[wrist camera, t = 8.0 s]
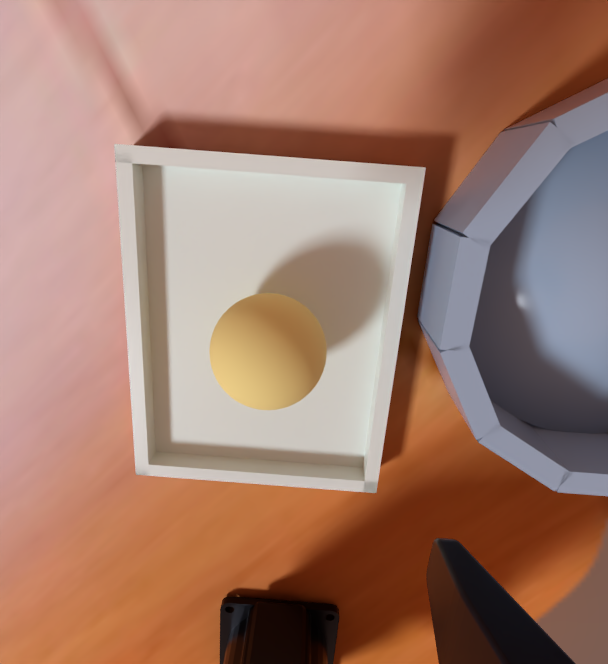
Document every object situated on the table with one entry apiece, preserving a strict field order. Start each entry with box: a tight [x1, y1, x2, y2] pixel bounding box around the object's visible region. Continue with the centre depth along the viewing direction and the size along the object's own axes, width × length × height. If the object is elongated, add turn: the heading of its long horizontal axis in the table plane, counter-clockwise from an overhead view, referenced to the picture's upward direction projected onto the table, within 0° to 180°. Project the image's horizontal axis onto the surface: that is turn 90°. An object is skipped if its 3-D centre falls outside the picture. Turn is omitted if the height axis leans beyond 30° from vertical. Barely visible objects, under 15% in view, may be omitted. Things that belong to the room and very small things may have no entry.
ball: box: [209, 293, 327, 410], centre depth 17 cm, size 4×4×4 cm
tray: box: [114, 144, 426, 493], centre depth 19 cm, size 14×11×2 cm
